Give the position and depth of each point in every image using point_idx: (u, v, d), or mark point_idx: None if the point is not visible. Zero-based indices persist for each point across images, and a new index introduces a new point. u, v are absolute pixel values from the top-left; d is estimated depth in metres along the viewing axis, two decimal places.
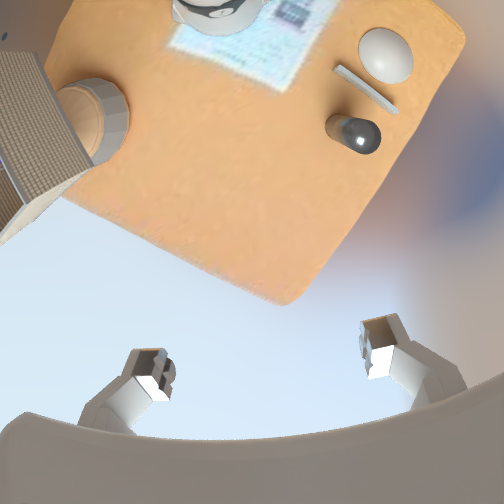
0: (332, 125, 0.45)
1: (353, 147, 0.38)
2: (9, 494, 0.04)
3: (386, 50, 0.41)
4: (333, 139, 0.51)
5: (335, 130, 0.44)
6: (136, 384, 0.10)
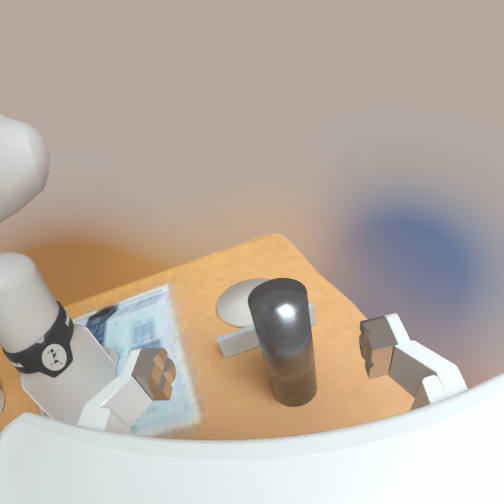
0: (271, 376, 0.29)
1: (280, 314, 0.23)
2: (10, 493, 0.04)
3: (245, 298, 0.49)
4: (304, 399, 0.30)
5: (272, 366, 0.27)
6: (136, 384, 0.10)
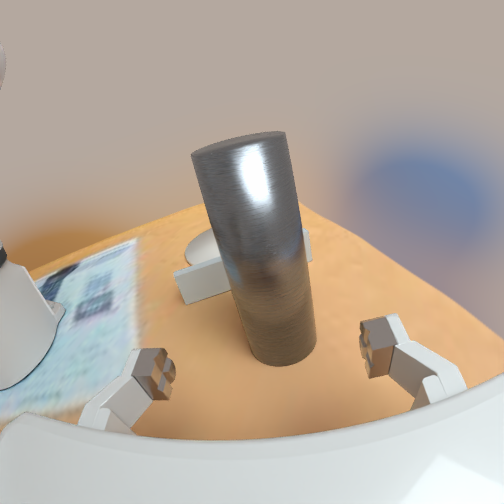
0: (239, 306, 0.19)
1: (238, 148, 0.13)
2: (9, 493, 0.04)
3: None
4: (297, 352, 0.19)
5: (236, 279, 0.17)
6: (136, 384, 0.10)
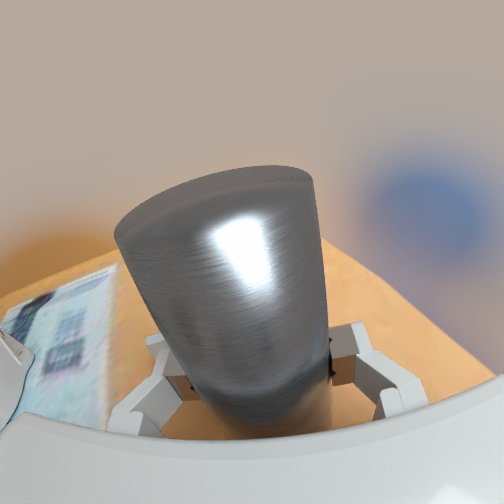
0: None
1: (199, 238, 0.05)
2: (9, 494, 0.04)
3: None
4: None
5: (218, 419, 0.09)
6: (168, 384, 0.10)
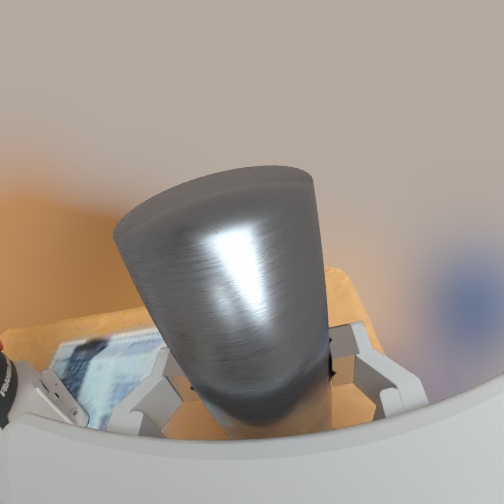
0: None
1: (198, 239, 0.05)
2: (9, 494, 0.04)
3: None
4: None
5: (217, 419, 0.09)
6: (168, 384, 0.10)
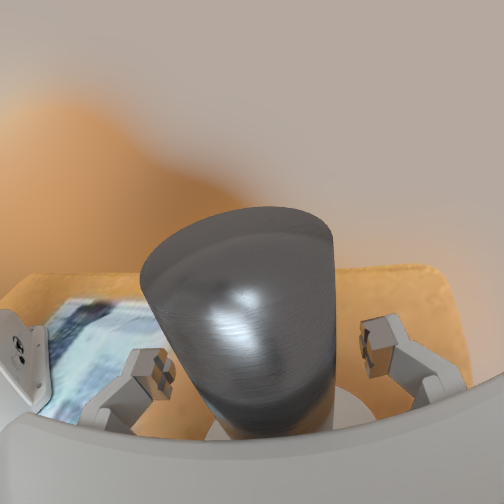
0: None
1: (233, 307, 0.06)
2: (10, 493, 0.04)
3: None
4: None
5: (231, 436, 0.10)
6: (136, 384, 0.10)
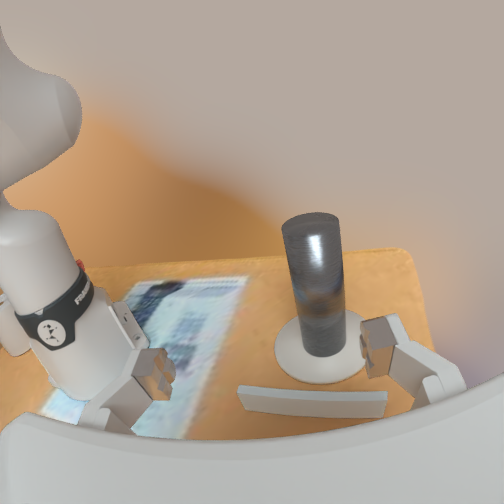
0: (303, 320, 0.29)
1: (317, 235, 0.24)
2: (10, 493, 0.04)
3: None
4: (336, 347, 0.30)
5: (305, 304, 0.28)
6: (136, 384, 0.10)
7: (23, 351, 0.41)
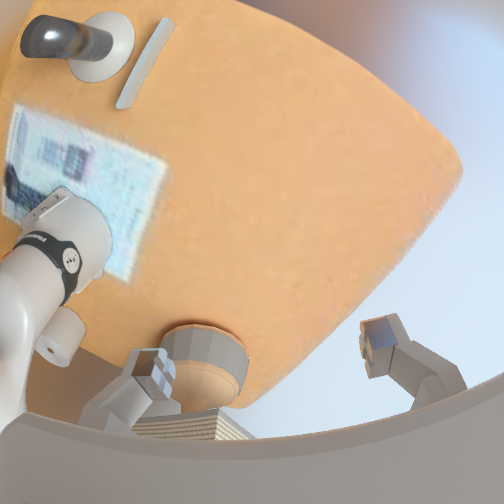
0: (85, 56, 0.27)
1: (50, 31, 0.17)
2: (10, 493, 0.04)
3: None
4: (109, 38, 0.29)
5: (78, 51, 0.24)
6: (136, 384, 0.10)
7: (78, 318, 0.56)
